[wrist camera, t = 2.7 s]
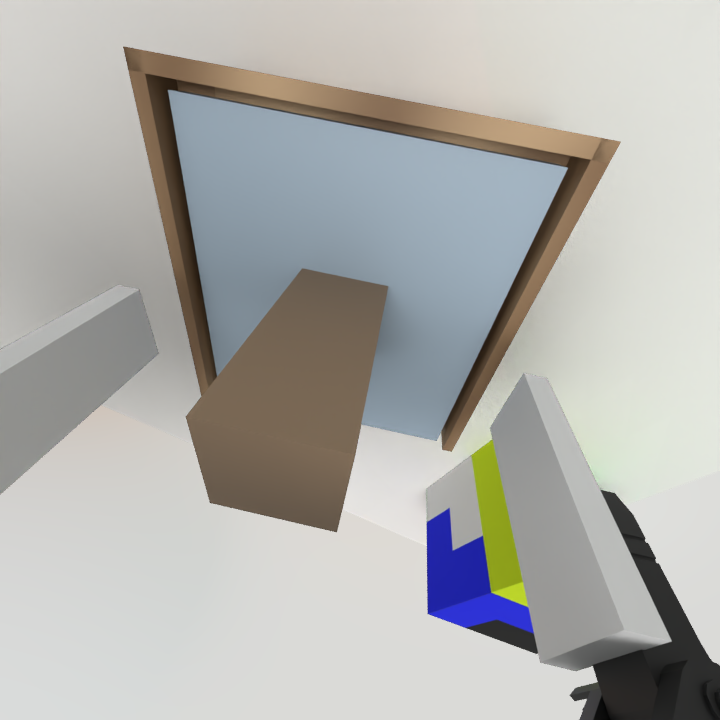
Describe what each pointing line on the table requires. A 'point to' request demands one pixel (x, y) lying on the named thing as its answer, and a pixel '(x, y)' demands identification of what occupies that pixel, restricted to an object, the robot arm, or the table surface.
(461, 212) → the cover plate
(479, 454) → the puzzle toy
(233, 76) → the oak box
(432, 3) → the table surface
